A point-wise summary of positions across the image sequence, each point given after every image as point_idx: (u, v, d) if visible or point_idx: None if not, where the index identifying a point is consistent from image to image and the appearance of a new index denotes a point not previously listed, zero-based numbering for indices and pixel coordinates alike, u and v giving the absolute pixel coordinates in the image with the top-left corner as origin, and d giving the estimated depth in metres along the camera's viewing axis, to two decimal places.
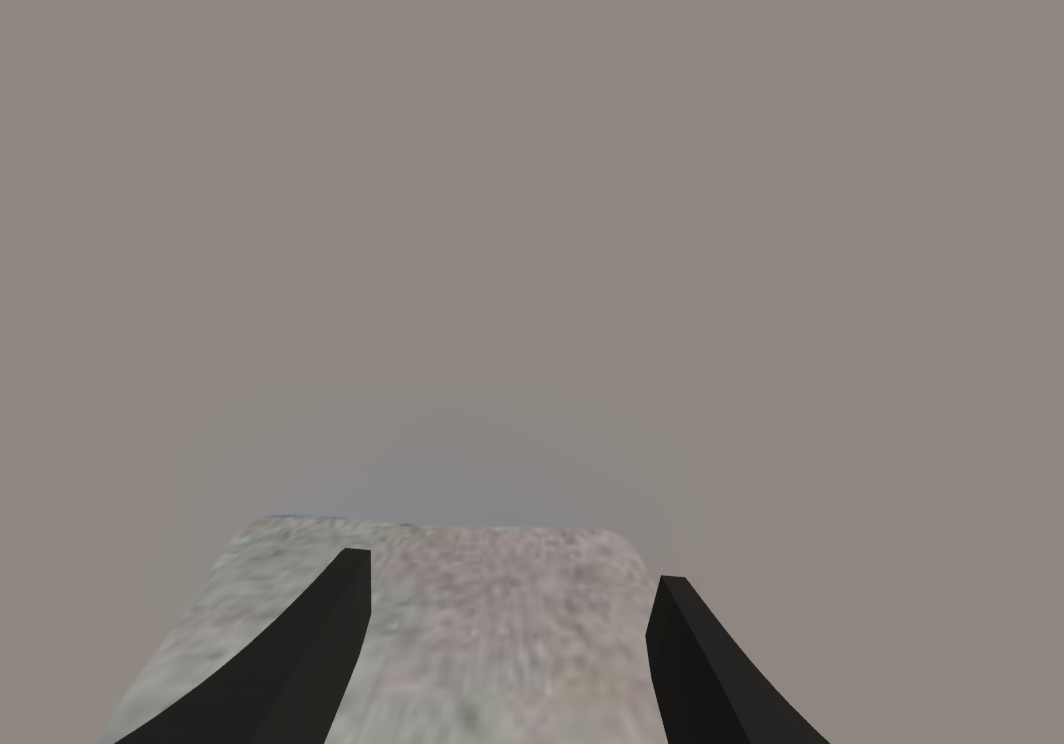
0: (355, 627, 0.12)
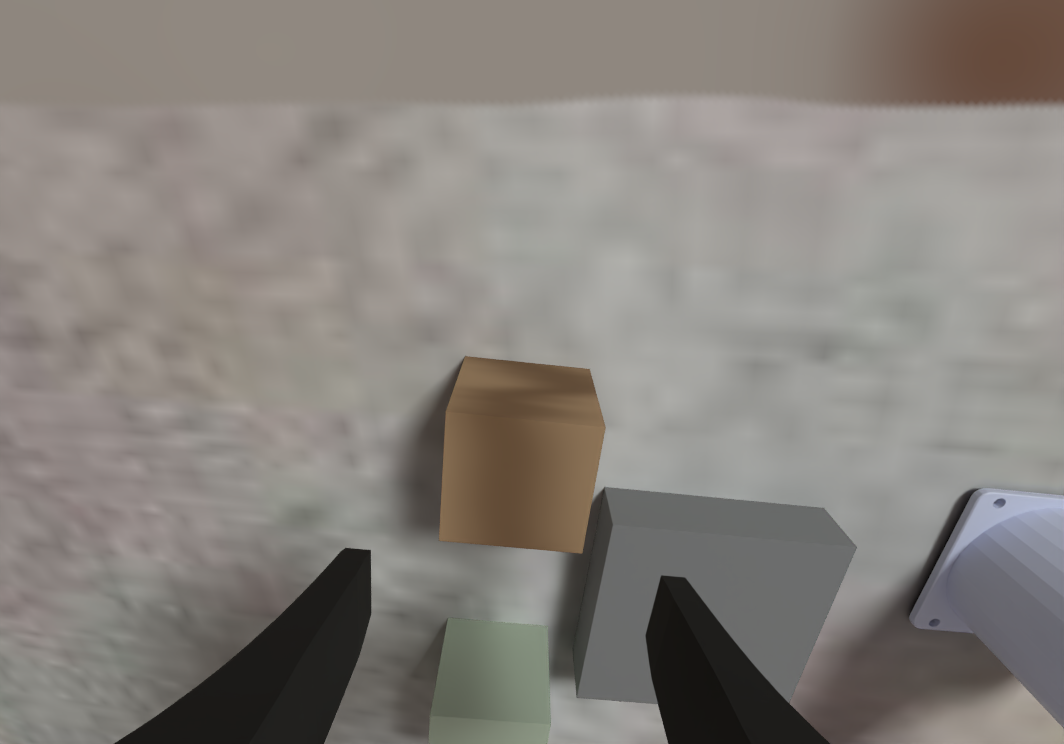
0: (355, 627, 0.12)
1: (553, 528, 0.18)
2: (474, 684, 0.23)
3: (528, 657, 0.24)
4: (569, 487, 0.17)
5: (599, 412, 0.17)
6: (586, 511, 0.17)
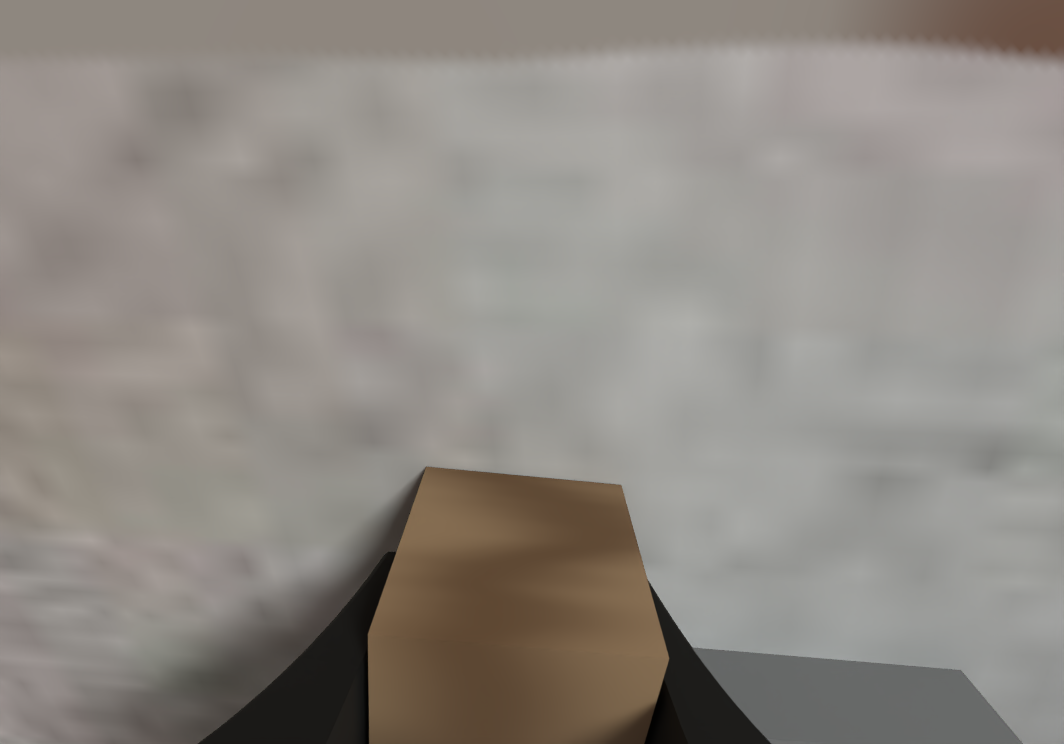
0: None
1: None
2: None
3: None
4: None
5: (651, 609, 0.10)
6: None
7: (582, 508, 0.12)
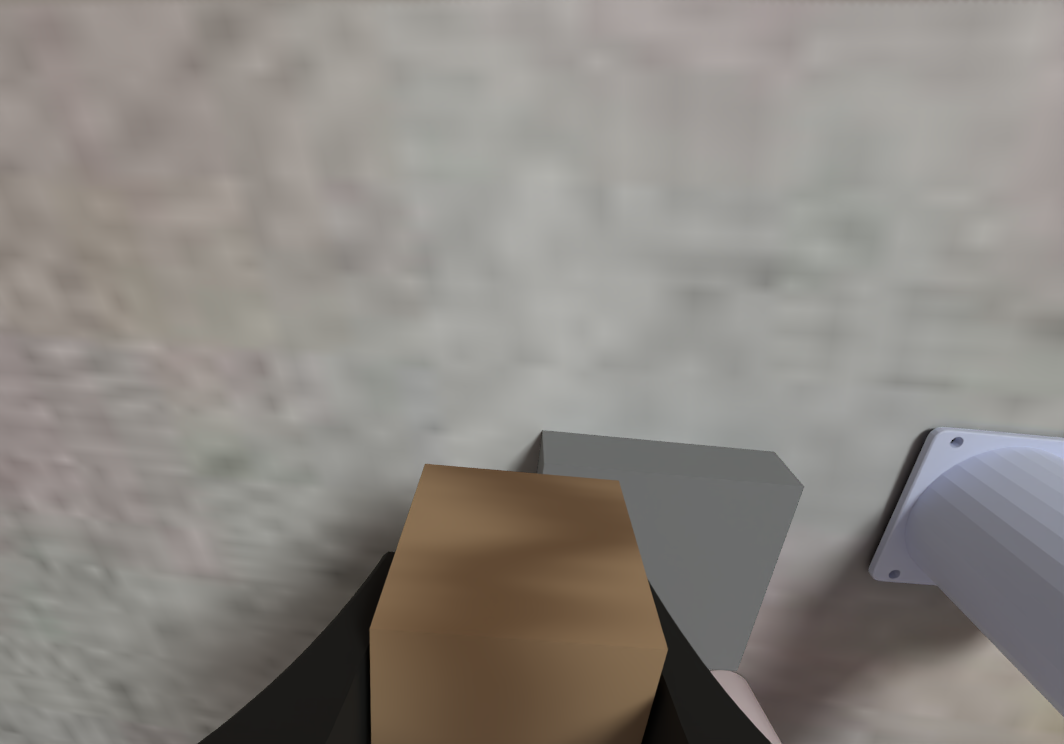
0: None
1: None
2: None
3: None
4: (598, 737, 0.10)
5: (650, 601, 0.10)
6: None
7: (580, 503, 0.12)
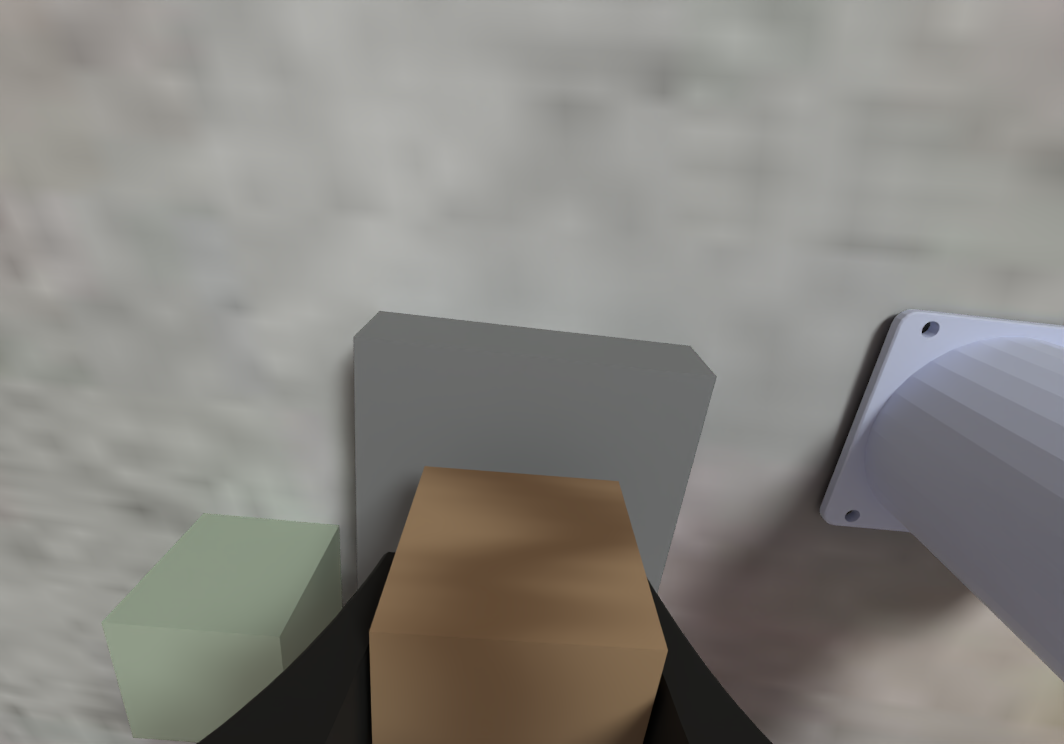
0: None
1: None
2: (194, 586, 0.16)
3: (291, 558, 0.18)
4: (598, 738, 0.10)
5: (650, 602, 0.10)
6: None
7: (580, 504, 0.12)
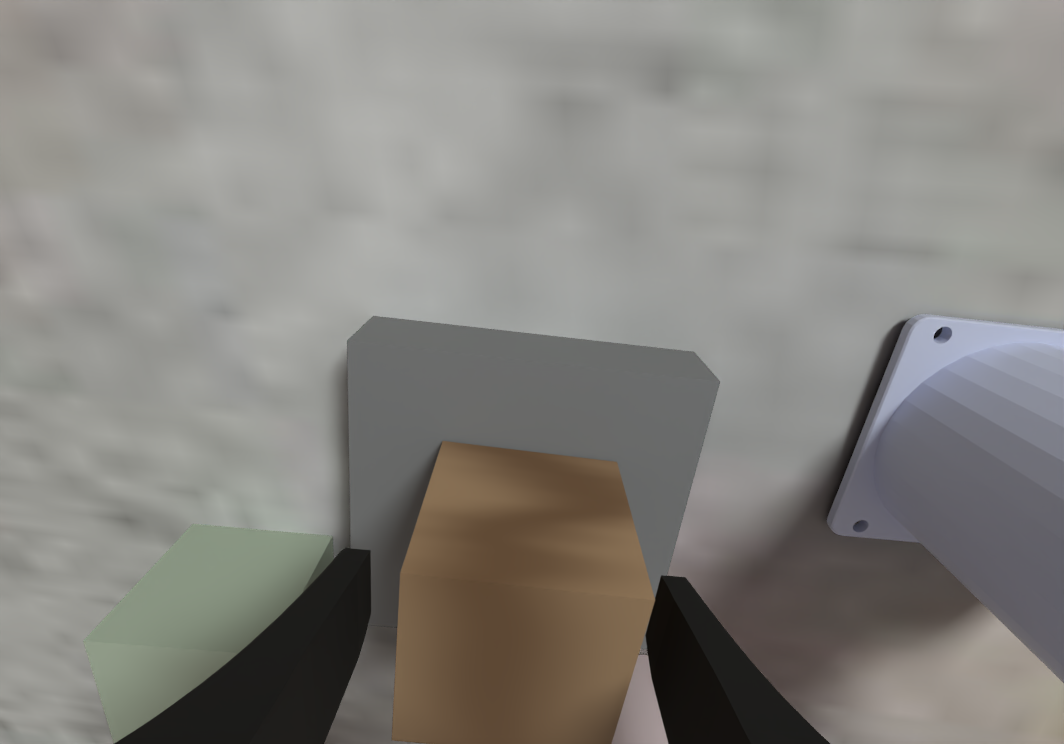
0: (355, 627, 0.12)
1: (565, 728, 0.12)
2: (181, 602, 0.16)
3: (282, 571, 0.17)
4: (592, 678, 0.11)
5: (641, 562, 0.11)
6: (616, 708, 0.11)
7: (582, 480, 0.14)
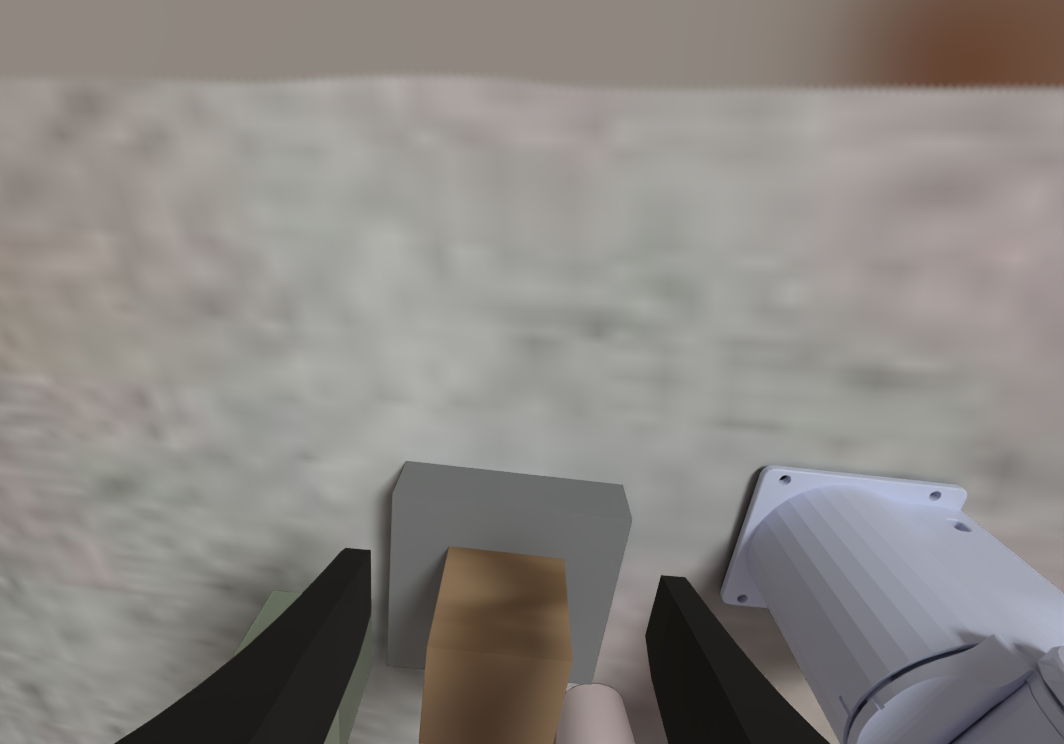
0: (355, 627, 0.12)
1: (524, 736, 0.19)
2: None
3: None
4: (538, 705, 0.19)
5: (568, 636, 0.19)
6: (554, 724, 0.19)
7: (539, 575, 0.21)
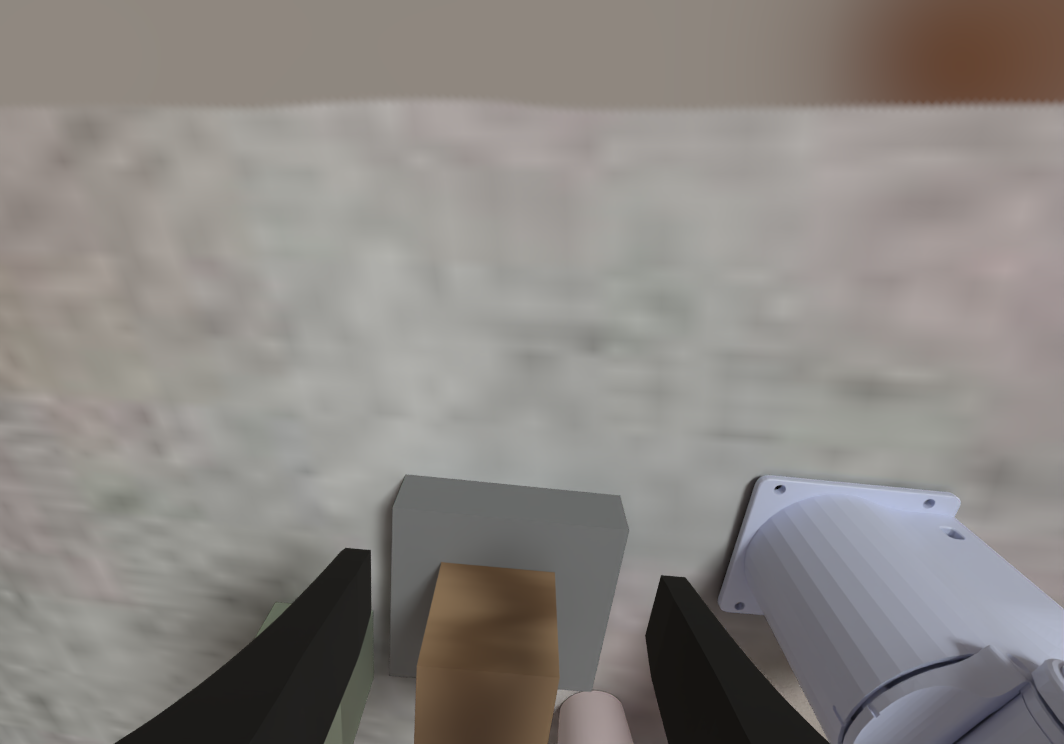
0: (355, 627, 0.12)
1: None
2: None
3: None
4: (529, 720, 0.19)
5: (556, 652, 0.19)
6: (545, 737, 0.19)
7: (529, 589, 0.22)
